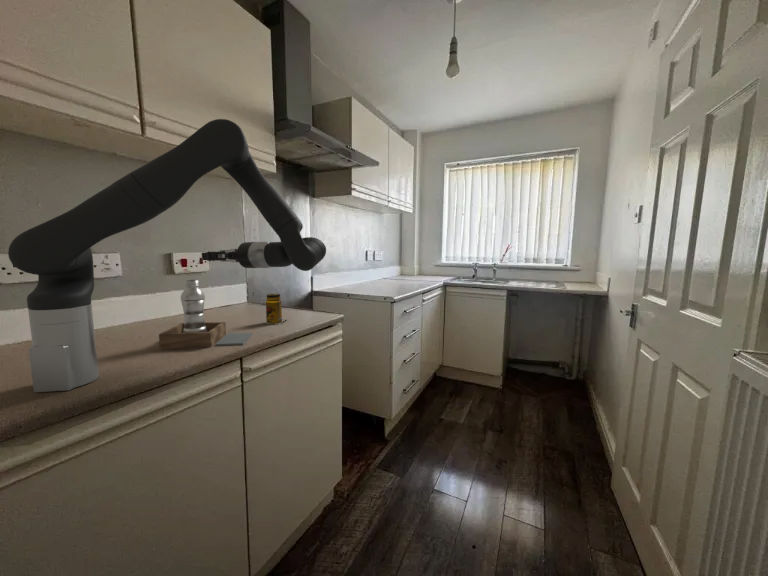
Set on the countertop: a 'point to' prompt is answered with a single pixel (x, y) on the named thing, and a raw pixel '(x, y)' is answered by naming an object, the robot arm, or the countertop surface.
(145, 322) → the countertop surface
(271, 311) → the condiment
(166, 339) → the walnut frame
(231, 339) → the grey mat
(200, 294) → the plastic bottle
